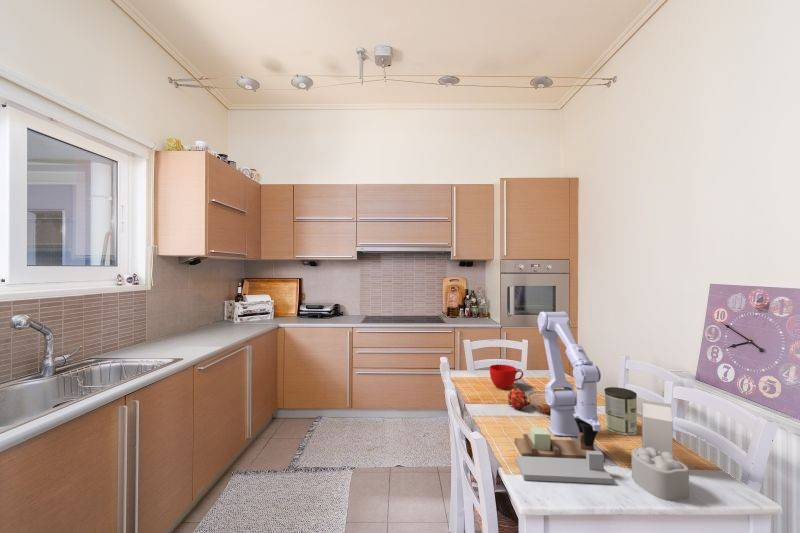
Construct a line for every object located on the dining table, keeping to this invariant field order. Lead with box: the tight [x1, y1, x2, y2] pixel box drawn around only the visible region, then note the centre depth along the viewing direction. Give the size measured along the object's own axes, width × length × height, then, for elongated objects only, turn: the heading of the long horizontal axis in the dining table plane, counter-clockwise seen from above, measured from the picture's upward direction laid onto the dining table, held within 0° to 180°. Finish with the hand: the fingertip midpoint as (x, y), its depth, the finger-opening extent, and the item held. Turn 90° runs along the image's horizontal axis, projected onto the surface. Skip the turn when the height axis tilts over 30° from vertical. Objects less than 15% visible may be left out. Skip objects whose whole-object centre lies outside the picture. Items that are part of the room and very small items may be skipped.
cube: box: [529, 426, 551, 450], centre depth 114 cm, size 5×5×5 cm
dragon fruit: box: [507, 388, 531, 411], centre depth 151 cm, size 8×8×12 cm
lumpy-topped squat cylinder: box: [631, 446, 690, 502], centre depth 96 cm, size 10×13×9 cm
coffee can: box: [603, 386, 638, 436], centre depth 131 cm, size 10×10×14 cm
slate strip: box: [514, 450, 614, 485], centre depth 102 cm, size 24×10×6 cm, turn 85°
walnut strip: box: [514, 432, 597, 459], centre depth 114 cm, size 24×10×6 cm, turn 85°
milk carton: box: [641, 398, 674, 456], centre depth 107 cm, size 7×7×19 cm
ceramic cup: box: [489, 364, 524, 390], centre depth 178 cm, size 13×17×10 cm
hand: (587, 443), depth 113 cm, fingers closed on walnut strip, 2 cm apart
